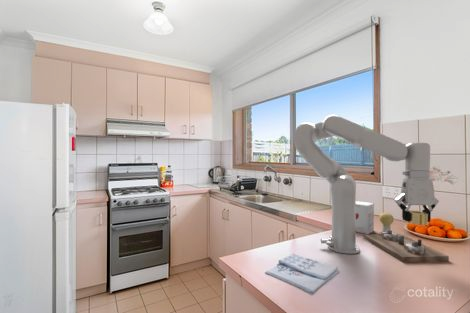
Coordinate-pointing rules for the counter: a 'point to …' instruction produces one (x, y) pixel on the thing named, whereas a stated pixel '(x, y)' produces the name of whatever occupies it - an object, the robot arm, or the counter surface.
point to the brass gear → (418, 217)
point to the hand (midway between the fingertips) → (416, 220)
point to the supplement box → (364, 217)
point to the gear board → (405, 247)
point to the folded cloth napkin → (313, 270)
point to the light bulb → (386, 221)
